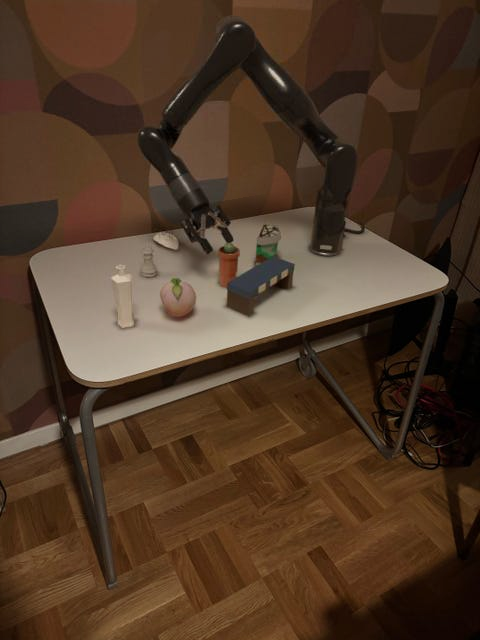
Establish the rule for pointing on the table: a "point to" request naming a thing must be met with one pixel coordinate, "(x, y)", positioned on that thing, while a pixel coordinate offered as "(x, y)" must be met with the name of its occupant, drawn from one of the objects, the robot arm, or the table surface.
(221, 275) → the pot
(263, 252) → the wedge shaped tart
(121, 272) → the perfume bottle
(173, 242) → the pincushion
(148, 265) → the rook chess piece
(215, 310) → the table surface
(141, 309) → the table surface
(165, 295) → the decorative fruit
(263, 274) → the dark blue bench
